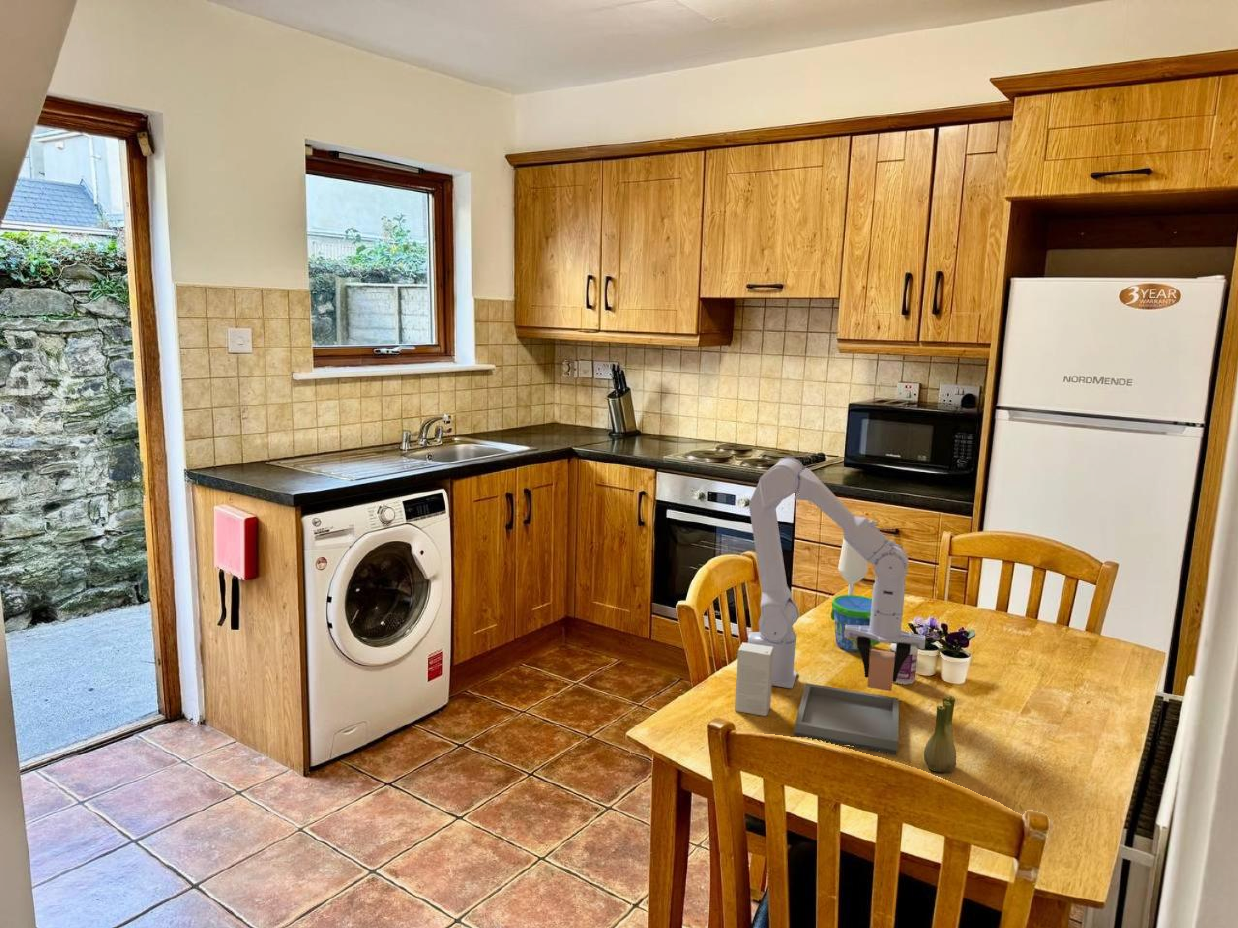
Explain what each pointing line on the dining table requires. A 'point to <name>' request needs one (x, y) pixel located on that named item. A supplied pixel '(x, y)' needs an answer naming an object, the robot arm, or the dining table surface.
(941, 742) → the fennel bulb
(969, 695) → the dining table surface
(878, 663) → the terracotta block
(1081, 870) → the dining table surface
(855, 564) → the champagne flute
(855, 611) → the snack cup
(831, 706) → the grey bin
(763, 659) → the skincare box
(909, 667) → the pill bottle
